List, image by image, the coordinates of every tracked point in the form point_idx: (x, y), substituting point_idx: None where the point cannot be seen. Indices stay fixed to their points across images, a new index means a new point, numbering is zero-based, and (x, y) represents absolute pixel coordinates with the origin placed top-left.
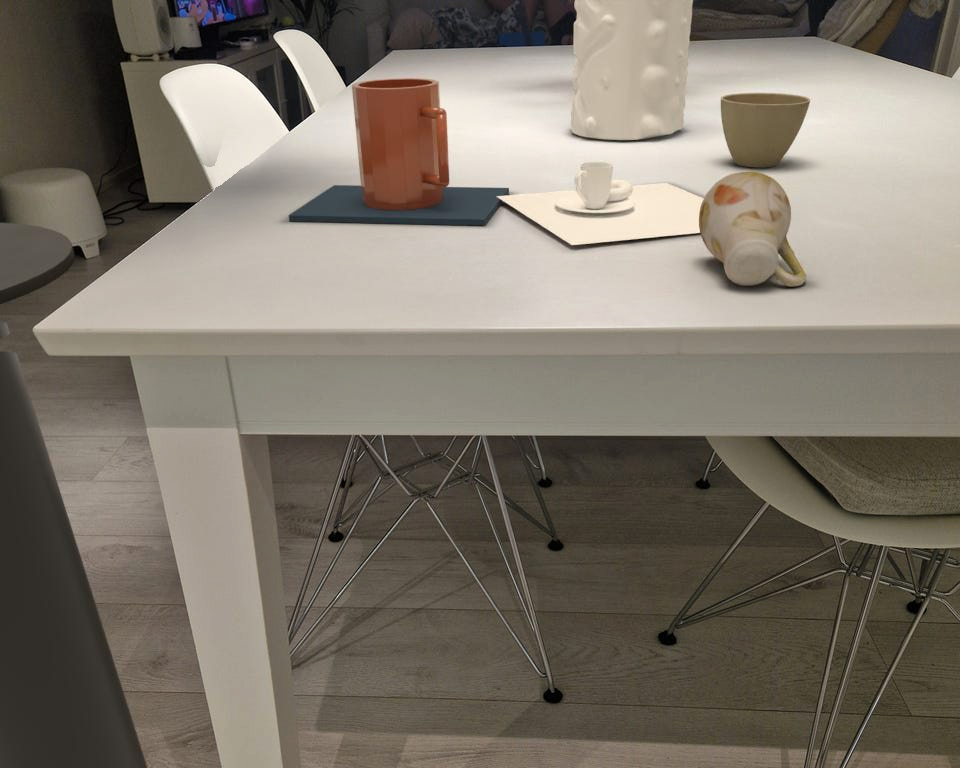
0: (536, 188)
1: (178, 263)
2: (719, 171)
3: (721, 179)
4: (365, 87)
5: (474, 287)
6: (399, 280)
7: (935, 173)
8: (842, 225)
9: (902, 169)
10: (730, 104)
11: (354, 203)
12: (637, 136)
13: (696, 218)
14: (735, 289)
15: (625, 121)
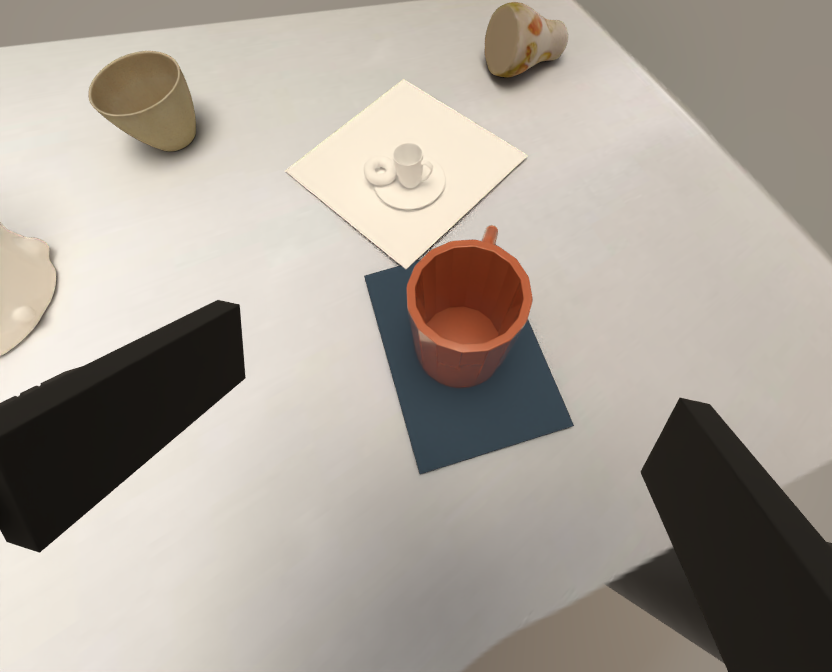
0: (332, 265)
1: (757, 425)
2: (215, 153)
3: (520, 25)
4: (523, 306)
5: (645, 174)
6: (665, 224)
7: (196, 32)
8: (383, 48)
9: (183, 50)
10: (165, 102)
11: (494, 387)
12: (50, 264)
13: (404, 117)
14: (556, 60)
15: (35, 267)
